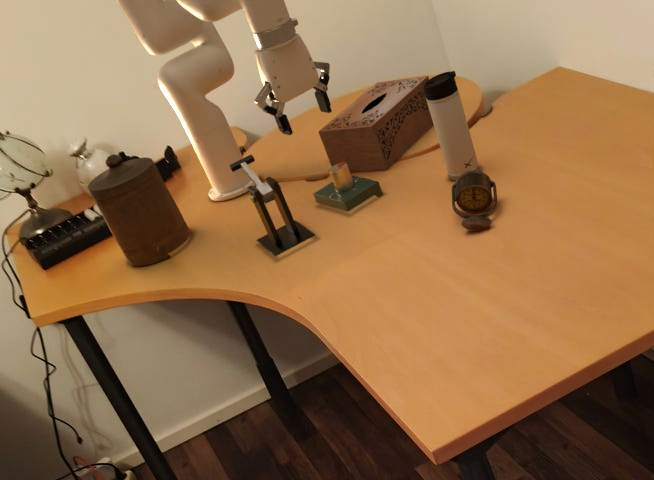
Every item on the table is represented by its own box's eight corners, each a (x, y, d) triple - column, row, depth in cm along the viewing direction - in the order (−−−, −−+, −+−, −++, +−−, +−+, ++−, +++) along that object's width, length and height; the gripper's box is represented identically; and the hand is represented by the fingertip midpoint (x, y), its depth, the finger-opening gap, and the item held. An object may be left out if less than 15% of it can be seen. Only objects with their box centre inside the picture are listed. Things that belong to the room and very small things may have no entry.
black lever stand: (258, 244, 172) (232, 188, 165) (297, 224, 174) (272, 168, 167) (277, 260, 164) (250, 201, 156) (317, 239, 166) (292, 180, 159)
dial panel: (318, 206, 179) (312, 192, 177) (350, 186, 182) (345, 172, 181) (349, 215, 170) (344, 201, 168) (383, 194, 174) (378, 180, 172)
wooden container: (157, 231, 195) (110, 142, 183) (204, 229, 188) (158, 136, 175) (115, 267, 186) (62, 176, 173) (163, 266, 178) (111, 171, 166)
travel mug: (479, 177, 166) (452, 78, 155) (447, 183, 168) (418, 86, 157) (483, 163, 171) (457, 66, 160) (451, 170, 173) (423, 74, 162)
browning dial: (343, 193, 172) (335, 171, 170) (332, 190, 175) (324, 169, 172) (358, 183, 174) (350, 162, 171) (347, 181, 177) (339, 160, 174)
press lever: (231, 171, 168) (228, 162, 166) (253, 160, 169) (250, 151, 167) (259, 207, 163) (256, 198, 160) (281, 195, 164) (279, 186, 162)
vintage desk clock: (511, 168, 152) (459, 161, 155) (486, 197, 143) (431, 189, 146) (511, 205, 156) (460, 198, 160) (486, 236, 147) (433, 227, 151)
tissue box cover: (386, 170, 184) (371, 126, 178) (334, 173, 191) (318, 131, 186) (440, 117, 199) (428, 75, 194) (389, 122, 207) (376, 82, 202)
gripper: (301, 16, 162) (331, 102, 172) (226, 53, 156) (262, 140, 166) (322, 17, 157) (352, 105, 167) (246, 55, 150) (282, 145, 160)
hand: (307, 122), depth 166 cm, fingers open, 9 cm apart
